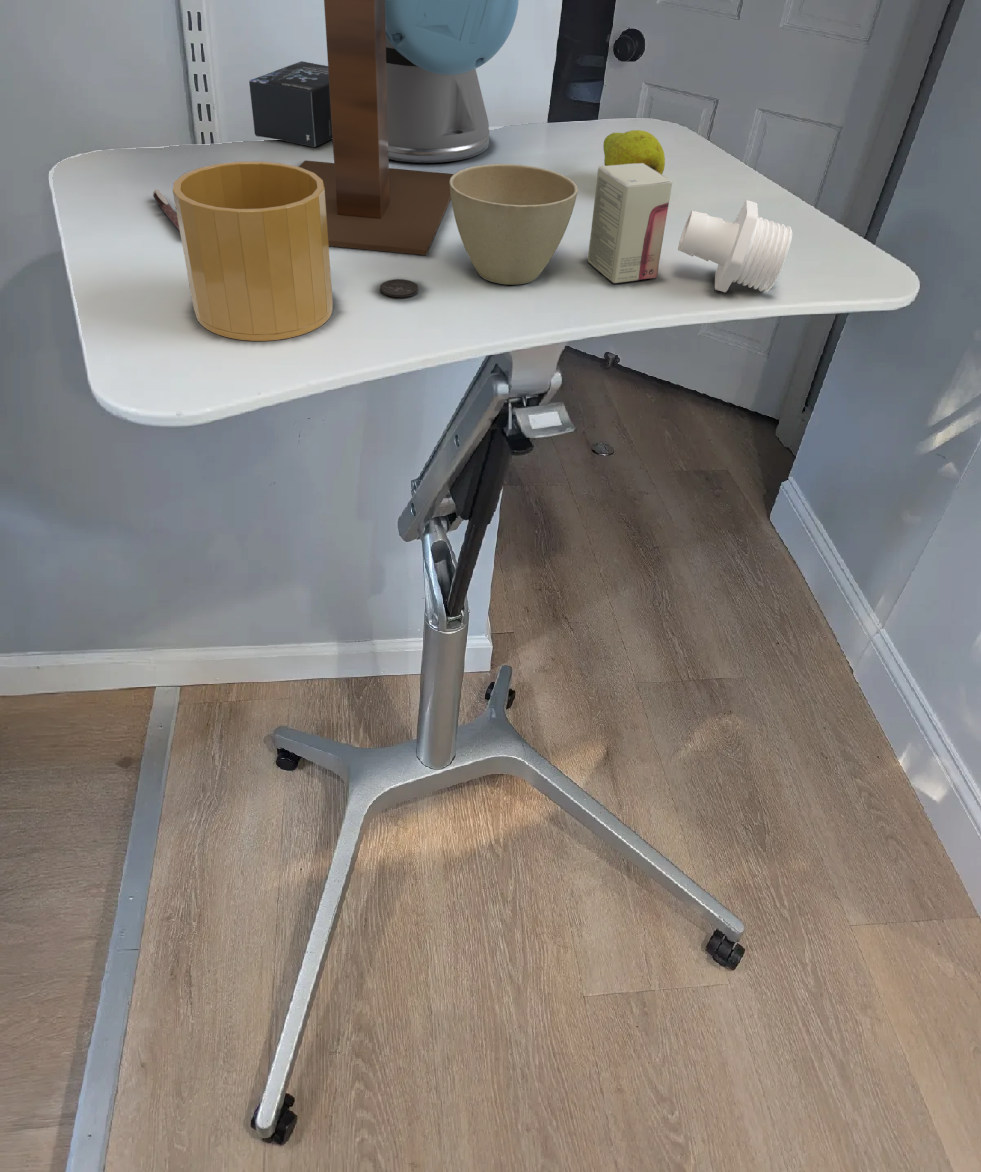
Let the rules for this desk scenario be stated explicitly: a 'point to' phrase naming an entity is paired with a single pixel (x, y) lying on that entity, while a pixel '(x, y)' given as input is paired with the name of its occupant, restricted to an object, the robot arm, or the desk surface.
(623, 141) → the fruit
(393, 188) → the mat
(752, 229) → the pipe fitting
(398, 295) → the coin
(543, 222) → the bowl
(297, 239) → the wooden pot
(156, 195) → the pen
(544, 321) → the desk surface
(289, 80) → the box
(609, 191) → the small box
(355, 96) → the block
